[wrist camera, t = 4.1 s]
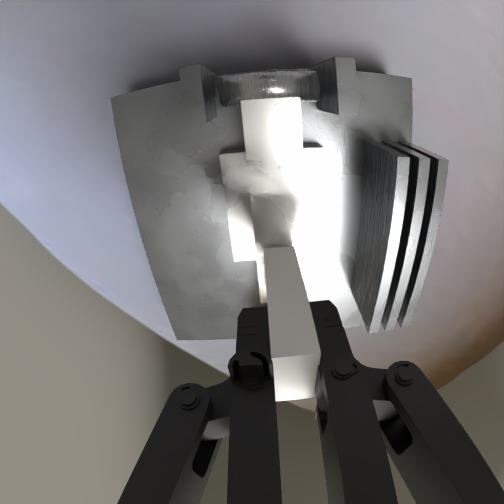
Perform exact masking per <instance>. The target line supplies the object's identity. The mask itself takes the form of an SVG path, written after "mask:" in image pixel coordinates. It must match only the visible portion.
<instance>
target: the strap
mask: <svg viewBox="0 0 504 504" xmlns="http://www.w3.org/2000/svg"><path fill="white" fill-rule="evenodd" d="M218 89H219V97H220V103H221V106H222V107H229V106H238V105H241V111H242V121H243V130H244V140H245V150H246V160H247V170H248V180H249V190H250V200H251V210H252V220H253V230H254V240H255V250H256V261H257V271H258V281H259V292H260V302H261V304H262V303H267V291H266V278H265V264H264V251H263V249H264V248H277V247H289V246H294V247H295V251H296V254H297V258H298V262H299V265H300V269H301V273H302V277H303V281H304V255H305V208H304V163H303V138H302V119H301V102H317V101H318V100H319V96H320V83H319V77H318V74H317V72H316V71H275V72H258V73H245V74H235V75H226V76H219V77H218Z"/></svg>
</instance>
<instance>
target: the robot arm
mask: <svg viewBox="0 0 504 504" xmlns="http://www.w3.org/2000/svg"><path fill="white" fill-rule="evenodd" d="M263 251H264V264H265V278H266V291H267V305H268V306H264V307H250V308H243V309H242V311H241V312H240V314H239V316H238V319H237V340H236V354H234V355H233V357H232V358H231V359H230V361H229V364H228V369H229V373H230V377H229V378H228V379H227V380H226V381H224V382H223V383H220V384H218V385H215V386H211V387H207V388H204V387H203V386H200V385H198V384H193V383H187V384H183V385H180V386H179V387H177V388H176V389H174V390H173V392H172V393H171V394H170V396H169V398H168V400H167V402H166V404H165V406H164V408H163V410H162V412H161V414H160V416H159V418H158V420H157V423H156V424H155V427H154V429H153V431H152V433H151V435H150V437H149V439H148V441H147V443H146V445H145V447H144V449H143V451H142V453H141V456H140V457H139V459H138V462H137V464H136V466H135V468H134V470H133V472H132V474H131V476H130V478H129V480H128V482H127V484H126V486H125V489H124V491H123V493H122V495H121V497H120V499H119V501H118V503H117V504H199V503H200V500H201V498H202V495H203V492H204V489H205V487H206V484H207V481H208V478H209V476H210V473H211V470H212V467H213V465H214V462H215V459H216V456H217V453H218V450H219V447H220V445H221V442H222V439H223V437H226V436H229V458H228V487H227V504H282V496H281V478H280V461H279V445H278V429H277V414H276V401H285V400H296V399H305V398H313V397H315V393H316V399H317V405H316V410H315V417H314V419H318V427H319V433H320V440H321V447H322V455H323V462H324V469H325V478H326V486H327V494H328V503H329V504H398V501H397V496H396V491H395V487H394V482H393V478H392V473H391V469H390V464H389V460H388V456H387V452H386V450H387V451H388V453H389V455H390V457H391V459H392V460H393V462H394V464H395V466H396V467H397V469H398V471H399V473H400V475H401V476H402V478H403V480H404V482H405V483H406V485H407V487H408V489H409V491H410V493H411V495H412V496H413V498H414V500H415V501H416V504H504V491H503V489H502V487H501V486H500V484H499V482H498V481H497V479H496V477H495V476H494V474H493V473H492V471H491V469H490V468H489V466H488V465H487V463H486V461H485V460H484V458H483V457H482V455H481V454H480V452H479V451H478V449H477V448H476V446H475V445H474V443H473V441H472V440H471V438H470V437H469V436H468V434H467V433H466V431H465V430H464V428H463V427H462V425H461V424H460V423H459V421H458V420H457V418H456V417H455V416H454V414H453V413H452V411H451V410H450V408H449V407H448V406H447V404H446V403H445V402H444V400H443V399H442V397H441V396H440V395H439V393H438V392H437V391H436V389H435V388H434V387H433V385H432V384H431V383H430V381H429V380H428V379H427V378H426V376H425V375H424V374H423V372H422V371H421V370H420V368H418V367H417V366H416V365H415V364H413V363H411V362H409V361H399V362H395V363H393V364H392V365H391V366H390V367H389V368H388V369H378V368H370V367H366V366H364V365H362V364H361V363H360V362H359V361H357V360H356V359H355V358H354V356H353V354H352V351H351V348H350V345H349V342H348V339H347V336H346V333H345V330H344V327H343V324H342V321H341V319H340V315H339V312H338V310H337V307H336V306H335V305H334V304H333V303H332V302H331V301H330V300H322V301H312V302H309V300H308V296H307V292H306V289H305V285H304V281H303V277H302V273H301V269H300V265H299V262H298V258H297V254H296V251H295V247H294V246H289V247H277V248H264V249H263Z"/></svg>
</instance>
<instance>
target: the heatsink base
mask: <svg viewBox="0 0 504 504" xmlns="http://www.w3.org/2000/svg"><path fill="white" fill-rule="evenodd" d="M275 71H316V72H317V74H318V77H319V83H320V96H319V100H318V101H317V102H301V119H302V138H303V163H304V208H305V255H304V285H305V289H306V292H307V296H308V300H309V302H312V301H322V300H330V301H331V302H332V303H333V304H334V305H335V306H336V307H337V310H338V312H339V315H340V319H341V321H342V324H343V327H344V329H346V328H353V327H360V326H366V329H367V331H368V334H370V333H376V332H378V329H379V326H380V323H382V325H383V327H384V329H385V331H387V330H393V329H394V327H395V324H396V321H398V323H399V325H400V327H401V328H403V327H408V326H409V325H410V323H411V320H412V317H413V314H414V312H415V309H416V306H417V303H418V300H419V297H420V294H421V291H422V288H423V284H424V281H425V278H426V274H427V271H428V267H429V263H430V260H431V256H432V252H433V248H434V244H435V240H436V235H437V231H438V226H439V221H440V216H441V211H442V205H443V199H444V193H445V186H446V179H447V171H448V162H449V160H447V159H445V158H443V157H441V156H439V155H437V154H434V153H432V152H430V151H428V150H425V149H423V148H421V147H418V146H416V145H414V144H412V78H407V77H401V76H394V75H388V74H380V73H372V72H362V71H356V64H355V58H349V57H336V56H335V57H333V58H330V59H328V60H326V61H323V62H321V63H319V64H317V65H314V66H312V67H310V68H308V69H271V70H255V71H243V72H233V73H225V74H215V73H214V72H212V71H211V70H209V69H207V68H206V67H204V66H203V65H201V64H194V65H189V66H183V67H179V76H180V81H175V82H171V83H166V84H161V85H157V86H153V87H149V88H145V89H141V90H137V91H134V92H130V93H126V94H123V95H120V96H116V97H113V98H111V102H112V108H113V115H114V121H115V127H116V132H117V138H118V143H119V148H120V153H121V158H122V163H123V167H124V172H125V176H126V180H127V185H128V189H129V193H130V197H131V201H132V205H133V209H134V212H135V216H136V220H137V223H138V227H139V230H140V234H141V237H142V241H143V244H144V247H145V251H146V254H147V257H148V260H149V263H150V267H151V270H152V273H153V276H154V279H155V282H156V285H157V287H158V290H159V293H160V296H161V299H162V302H163V304H164V307H165V310H166V313H167V315H168V318H169V320H170V323H171V326H172V328H173V331H174V333H175V336H176V338H177V340H214V339H237V319H238V316H239V314H240V312H241V311H242V309H243V308H250V307H264V306H268V305H267V303H262V304H261V302H260V292H259V281H258V271H257V261H256V250H255V240H254V230H253V220H252V210H251V200H250V190H249V180H248V170H247V160H246V150H245V140H244V130H243V121H242V111H241V105H238V106H229V107H222V106H221V103H220V97H219V89H218V77H219V76H226V75H235V74H245V73H258V72H275Z"/></svg>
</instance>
